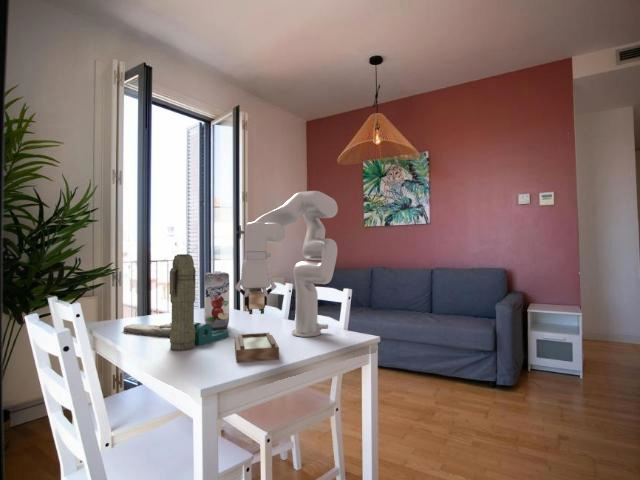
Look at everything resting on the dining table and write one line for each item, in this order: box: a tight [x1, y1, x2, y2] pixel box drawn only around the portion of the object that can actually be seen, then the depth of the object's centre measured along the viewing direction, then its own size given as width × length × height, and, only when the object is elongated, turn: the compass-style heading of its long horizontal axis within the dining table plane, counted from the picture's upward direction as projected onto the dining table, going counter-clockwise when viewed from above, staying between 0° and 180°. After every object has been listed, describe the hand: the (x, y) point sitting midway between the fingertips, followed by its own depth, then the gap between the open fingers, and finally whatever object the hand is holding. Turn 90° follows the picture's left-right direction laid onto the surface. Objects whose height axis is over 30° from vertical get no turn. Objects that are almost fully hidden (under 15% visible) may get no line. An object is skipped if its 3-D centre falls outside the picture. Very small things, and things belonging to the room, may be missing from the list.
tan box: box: [247, 288, 265, 315], centre depth 133 cm, size 5×10×10 cm, turn 15°
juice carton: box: [204, 269, 230, 331], centre depth 173 cm, size 9×10×27 cm
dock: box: [234, 332, 280, 363], centre depth 133 cm, size 14×18×5 cm
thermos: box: [169, 253, 196, 352], centre depth 140 cm, size 9×12×35 cm
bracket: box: [194, 321, 230, 347], centre depth 152 cm, size 18×7×8 cm, turn 150°
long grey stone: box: [122, 322, 172, 338], centre depth 162 cm, size 35×5×10 cm
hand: (255, 307), depth 133 cm, fingers closed on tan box, 5 cm apart
